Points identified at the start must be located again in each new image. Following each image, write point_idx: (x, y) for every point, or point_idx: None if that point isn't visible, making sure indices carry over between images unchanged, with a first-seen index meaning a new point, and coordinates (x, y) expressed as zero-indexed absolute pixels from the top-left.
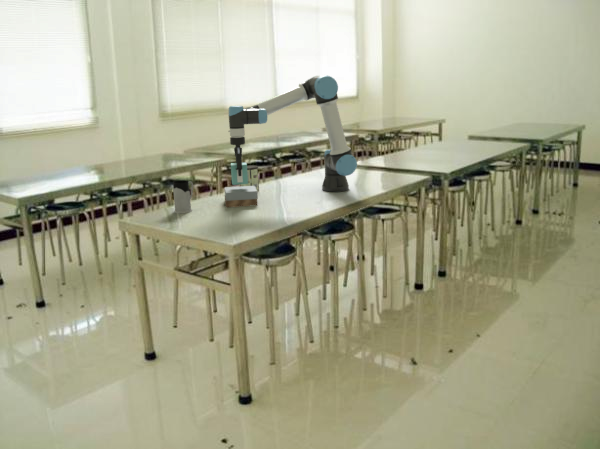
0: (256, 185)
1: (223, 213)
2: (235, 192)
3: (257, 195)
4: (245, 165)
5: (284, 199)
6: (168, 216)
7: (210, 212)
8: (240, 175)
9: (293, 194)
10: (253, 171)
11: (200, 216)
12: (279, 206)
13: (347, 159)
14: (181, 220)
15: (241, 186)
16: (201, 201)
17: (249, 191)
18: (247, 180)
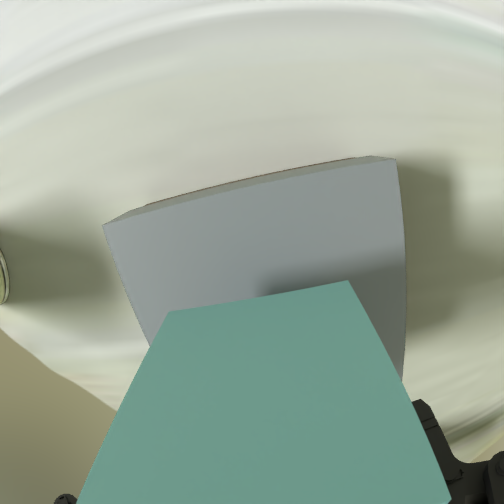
0: None
1: (482, 315)
2: (404, 338)
3: (381, 157)
4: (438, 498)
5: (174, 5)
6: None
7: (446, 370)
8: (423, 410)
9: (50, 9)
10: None
11: (484, 378)
12: (391, 22)
13: None
14: (497, 403)
15: (146, 332)
16: None
17: (397, 234)
18: (358, 304)
